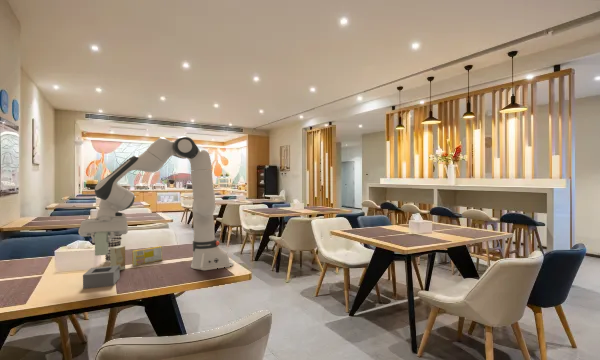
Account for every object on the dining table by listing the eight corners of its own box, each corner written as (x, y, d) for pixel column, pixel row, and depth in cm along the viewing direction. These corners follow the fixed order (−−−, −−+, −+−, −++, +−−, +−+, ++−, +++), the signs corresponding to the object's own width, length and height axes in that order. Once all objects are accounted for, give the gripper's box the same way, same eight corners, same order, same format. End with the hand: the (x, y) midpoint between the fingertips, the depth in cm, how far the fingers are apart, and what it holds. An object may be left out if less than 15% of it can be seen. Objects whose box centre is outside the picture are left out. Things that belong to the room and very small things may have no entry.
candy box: (161, 259, 193) (160, 245, 193) (162, 260, 192) (162, 246, 192) (132, 265, 182) (131, 250, 182) (133, 265, 180) (133, 251, 180)
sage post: (108, 252, 154) (108, 231, 153) (105, 254, 149) (105, 233, 149) (97, 253, 152) (97, 232, 152) (95, 255, 148) (94, 233, 148)
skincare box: (117, 271, 169) (116, 248, 169) (109, 271, 170) (109, 248, 170) (126, 268, 175) (125, 245, 175) (119, 267, 176) (118, 245, 176)
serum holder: (119, 277, 158) (119, 265, 158) (113, 285, 147) (113, 272, 147) (91, 280, 155) (91, 267, 155) (83, 288, 143) (82, 275, 143)
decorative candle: (120, 257, 199) (119, 217, 198) (124, 260, 192) (123, 218, 192) (103, 260, 193) (102, 218, 192) (106, 263, 186) (106, 219, 185)
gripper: (80, 215, 154) (73, 239, 145) (128, 213, 160) (124, 236, 151) (83, 223, 158) (77, 247, 149) (130, 221, 165) (126, 244, 155)
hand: (101, 241), depth 150 cm, fingers closed on sage post, 4 cm apart
